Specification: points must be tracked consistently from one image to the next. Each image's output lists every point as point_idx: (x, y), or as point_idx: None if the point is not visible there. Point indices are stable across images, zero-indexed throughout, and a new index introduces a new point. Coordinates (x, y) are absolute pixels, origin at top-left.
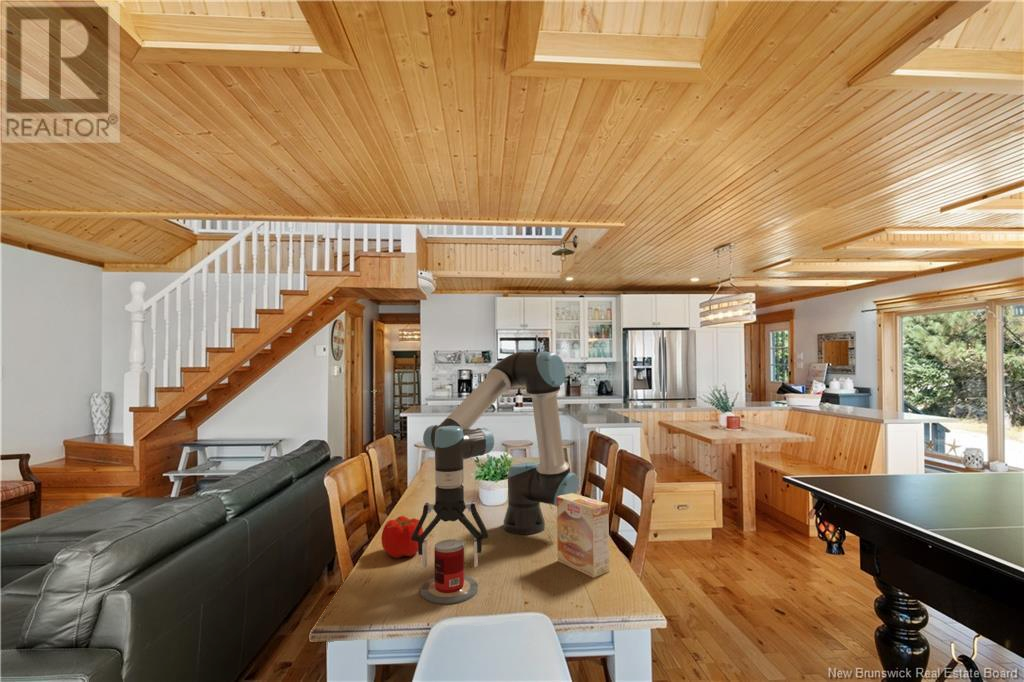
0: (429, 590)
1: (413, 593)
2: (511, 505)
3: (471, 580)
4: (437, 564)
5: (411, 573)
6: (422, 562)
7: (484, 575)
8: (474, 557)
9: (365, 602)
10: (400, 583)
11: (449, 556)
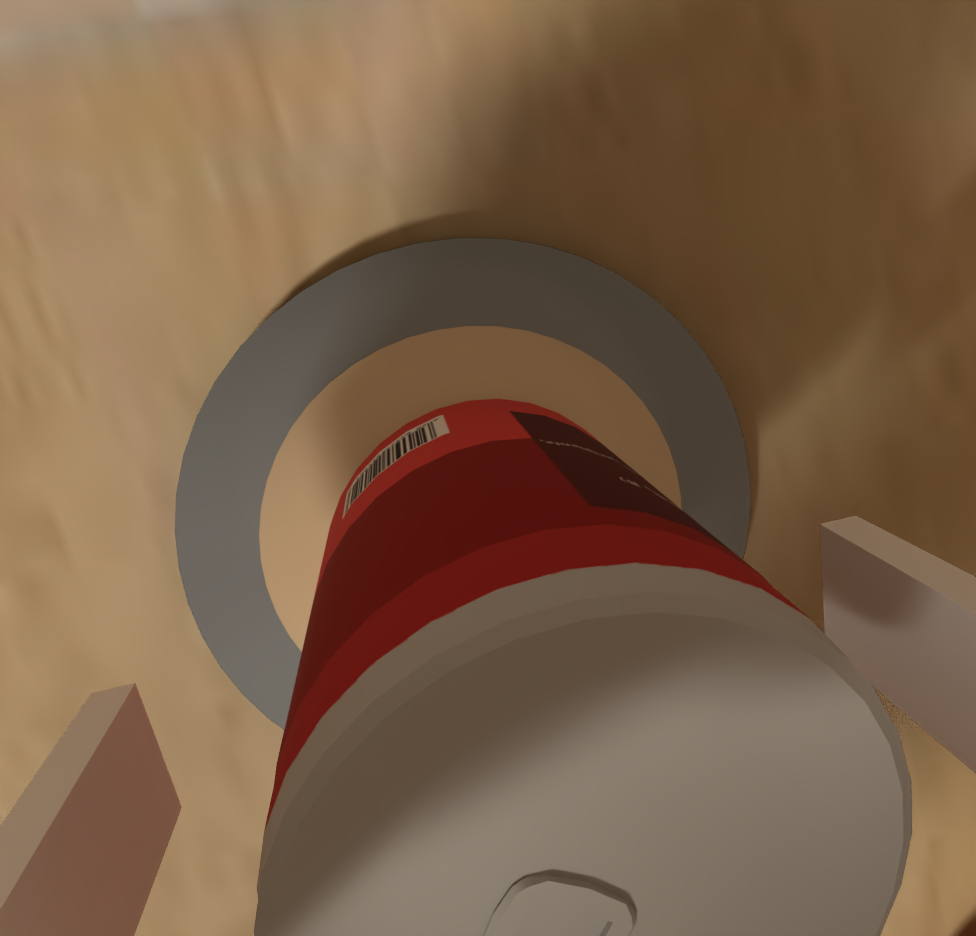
0: (656, 435)
1: (792, 417)
2: None
3: None
4: (678, 510)
5: None
6: (916, 548)
7: (227, 855)
8: (75, 781)
9: None
10: None
11: (489, 545)
